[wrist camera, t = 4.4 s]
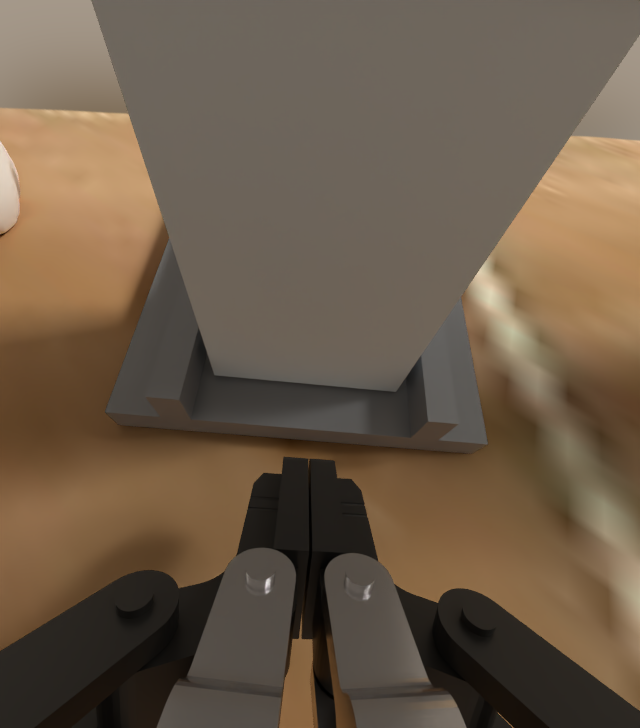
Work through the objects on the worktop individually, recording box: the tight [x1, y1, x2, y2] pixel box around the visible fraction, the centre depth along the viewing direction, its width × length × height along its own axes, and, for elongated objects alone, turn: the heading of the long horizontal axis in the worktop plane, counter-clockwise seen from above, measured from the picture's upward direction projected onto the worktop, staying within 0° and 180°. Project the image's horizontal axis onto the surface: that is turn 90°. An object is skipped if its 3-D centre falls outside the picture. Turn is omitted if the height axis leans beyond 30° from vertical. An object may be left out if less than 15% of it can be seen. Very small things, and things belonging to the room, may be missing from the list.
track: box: [105, 238, 488, 454], centre depth 19 cm, size 16×18×4 cm
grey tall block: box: [92, 0, 640, 392], centre depth 11 cm, size 8×5×14 cm, turn 87°
